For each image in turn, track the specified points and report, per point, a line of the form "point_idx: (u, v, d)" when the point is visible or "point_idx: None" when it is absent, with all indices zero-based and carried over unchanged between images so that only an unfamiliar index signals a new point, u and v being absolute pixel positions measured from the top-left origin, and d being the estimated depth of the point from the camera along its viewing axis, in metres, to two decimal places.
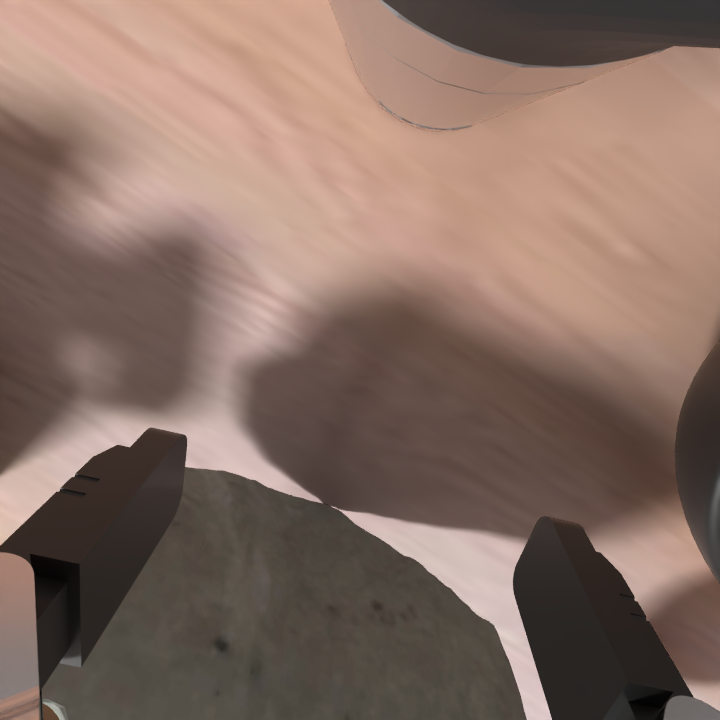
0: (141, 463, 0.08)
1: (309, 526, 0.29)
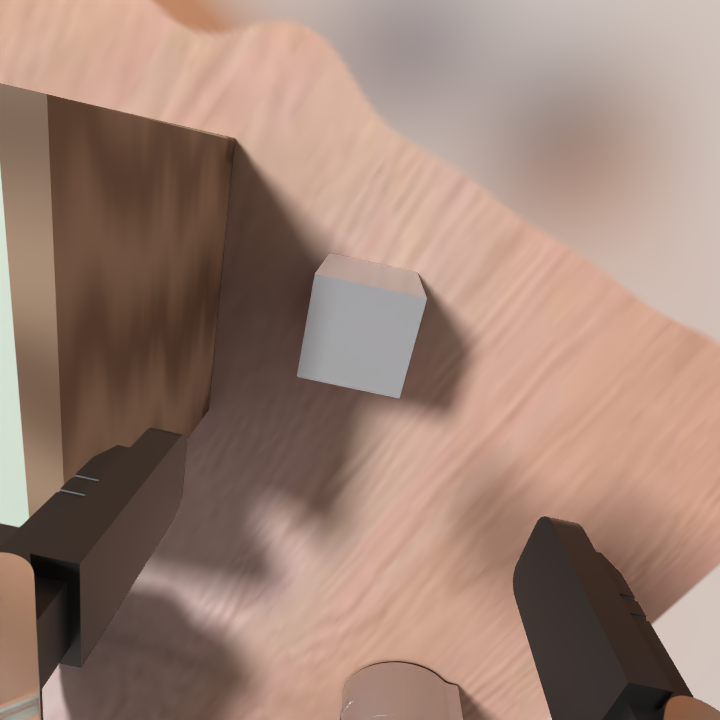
0: (141, 463, 0.08)
1: None
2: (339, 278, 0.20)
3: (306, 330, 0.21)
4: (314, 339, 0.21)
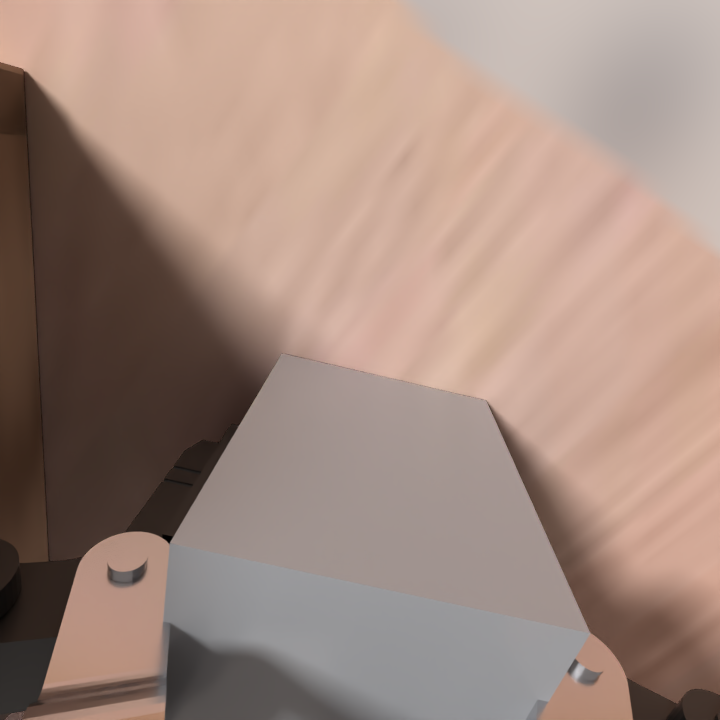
0: None
1: None
2: (266, 552, 0.05)
3: None
4: (191, 710, 0.06)
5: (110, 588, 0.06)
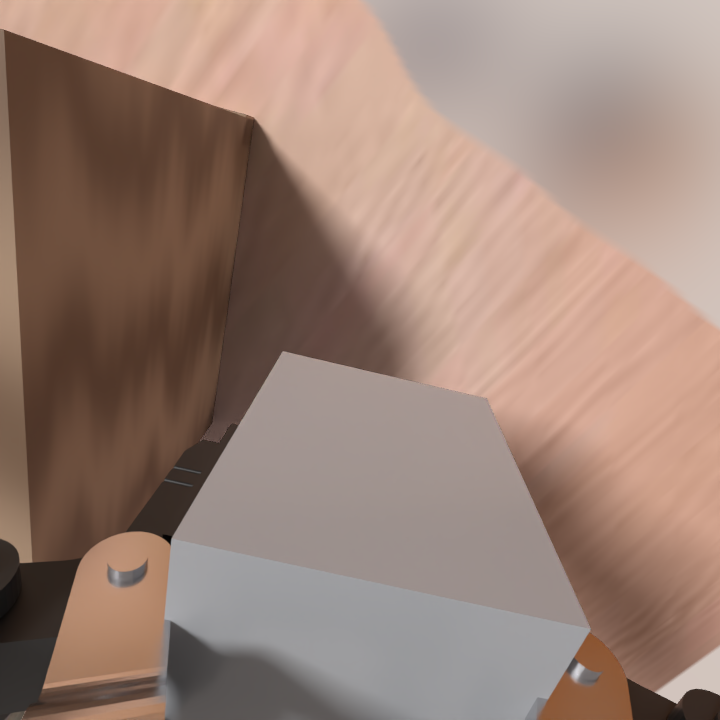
0: None
1: None
2: (267, 548, 0.05)
3: None
4: (193, 706, 0.06)
5: (110, 588, 0.06)
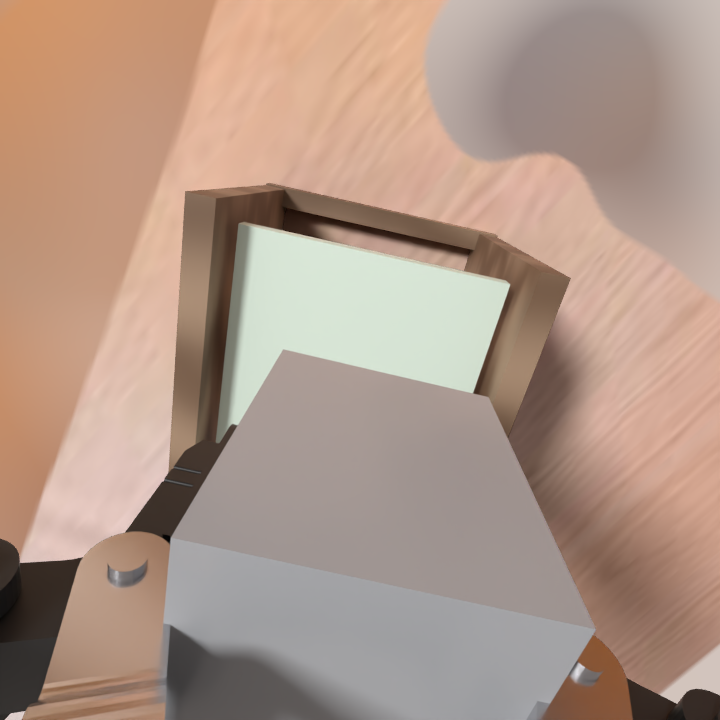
0: None
1: None
2: (268, 547, 0.05)
3: None
4: (193, 708, 0.06)
5: (110, 588, 0.06)
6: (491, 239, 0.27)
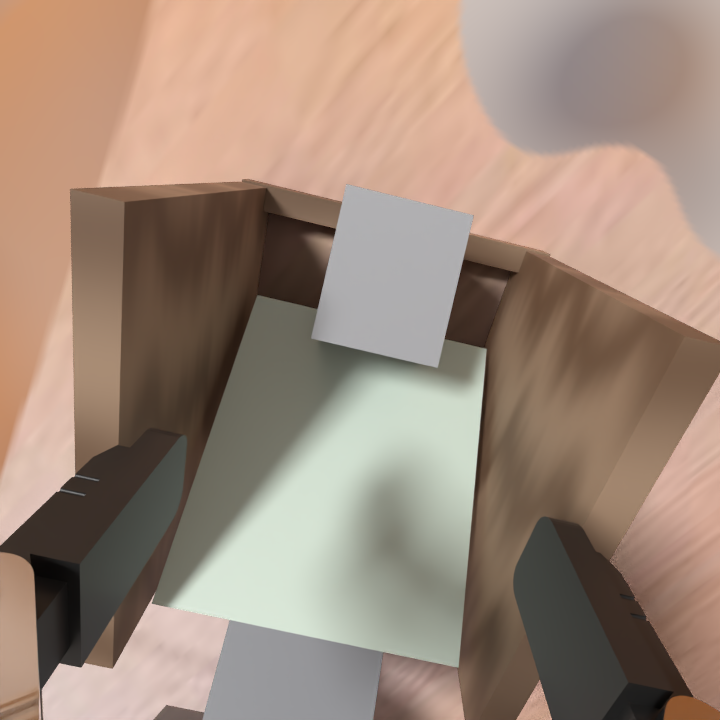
0: (141, 463, 0.08)
1: None
2: None
3: None
4: None
5: None
6: (548, 261, 0.20)
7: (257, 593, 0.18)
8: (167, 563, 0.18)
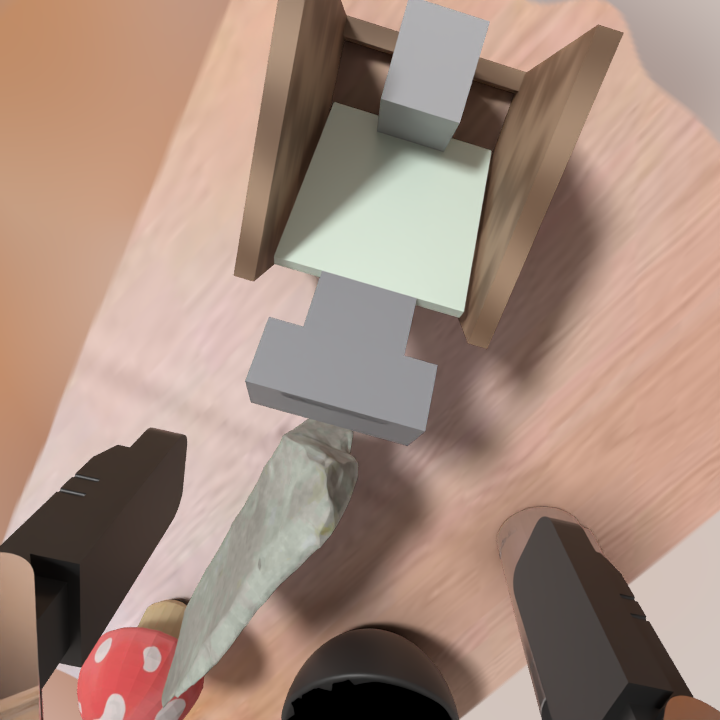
0: (141, 463, 0.08)
1: None
2: None
3: None
4: None
5: None
6: None
7: (338, 260, 0.28)
8: (282, 238, 0.28)
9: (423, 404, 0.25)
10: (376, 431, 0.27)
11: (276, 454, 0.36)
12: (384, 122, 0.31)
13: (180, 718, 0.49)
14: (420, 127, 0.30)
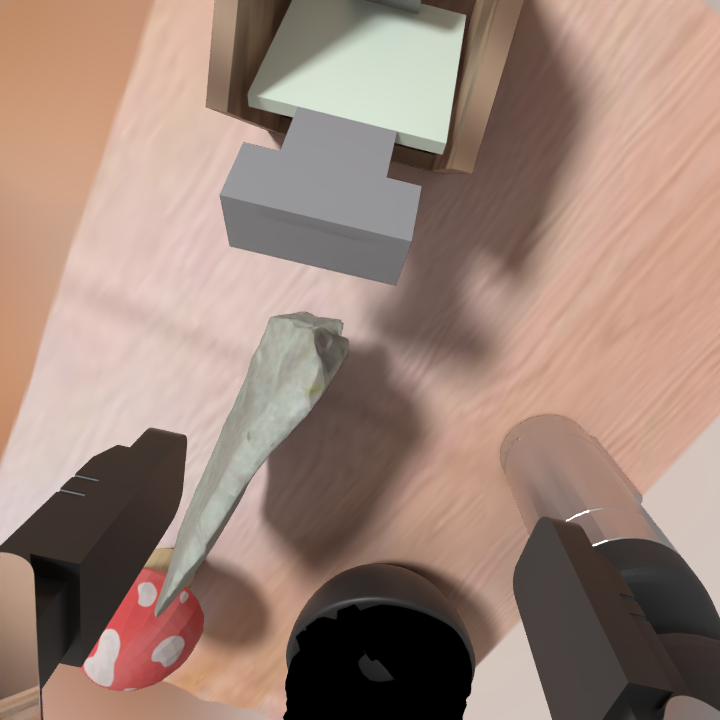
0: (141, 463, 0.08)
1: None
2: None
3: None
4: None
5: None
6: None
7: (314, 98, 0.27)
8: (255, 79, 0.27)
9: (408, 218, 0.24)
10: (361, 263, 0.26)
11: (263, 339, 0.34)
12: None
13: (179, 659, 0.46)
14: None
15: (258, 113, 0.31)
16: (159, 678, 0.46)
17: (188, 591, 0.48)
